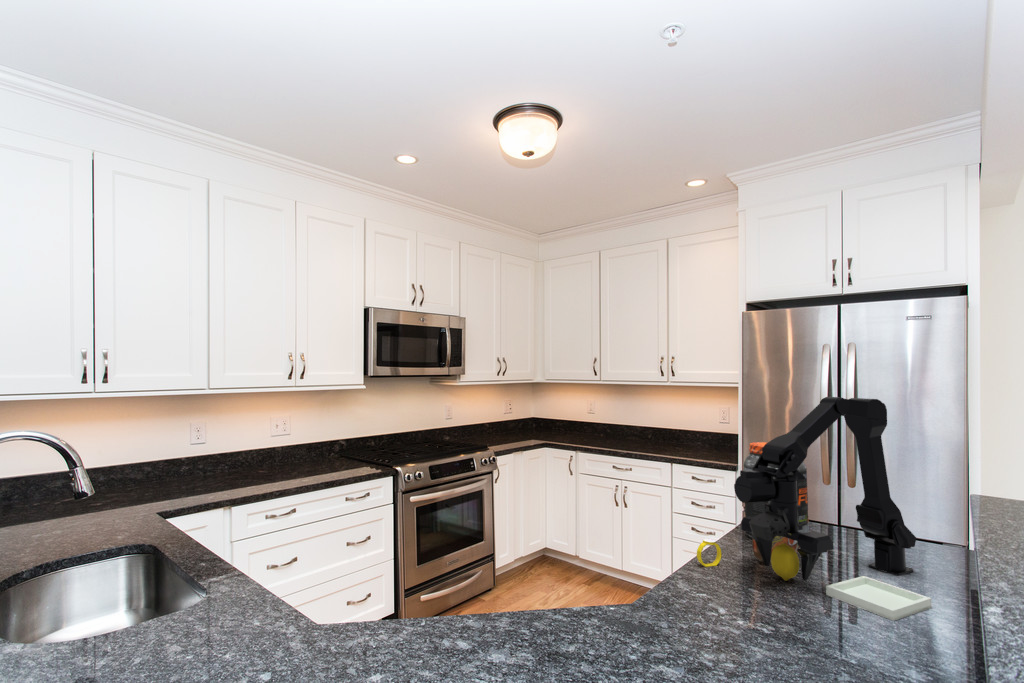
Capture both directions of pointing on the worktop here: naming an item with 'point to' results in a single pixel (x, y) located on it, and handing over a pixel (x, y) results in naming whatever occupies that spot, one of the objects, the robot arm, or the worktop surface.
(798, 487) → the supplement tub
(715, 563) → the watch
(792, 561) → the lemon
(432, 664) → the worktop surface
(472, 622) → the worktop surface
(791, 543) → the tin
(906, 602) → the tray
